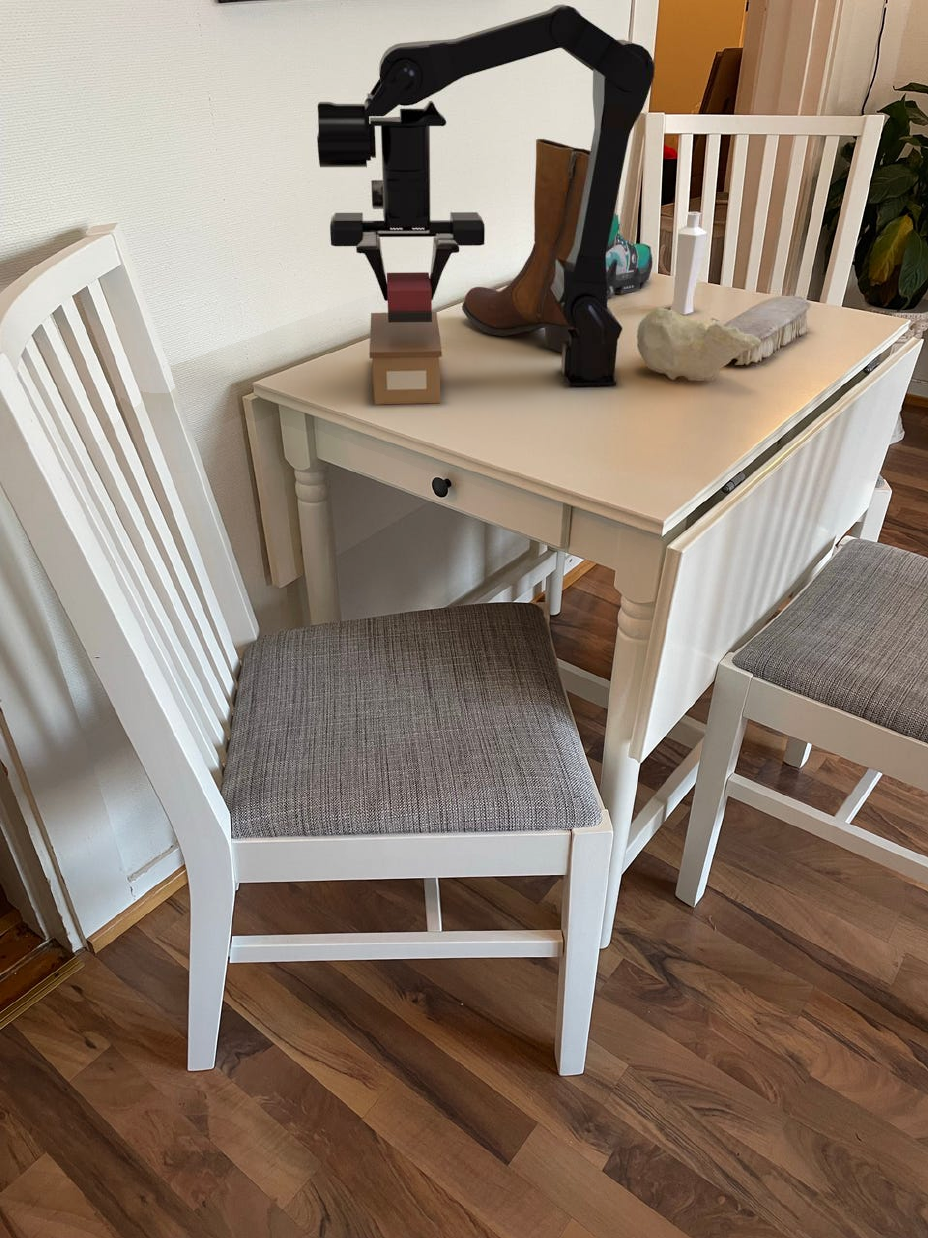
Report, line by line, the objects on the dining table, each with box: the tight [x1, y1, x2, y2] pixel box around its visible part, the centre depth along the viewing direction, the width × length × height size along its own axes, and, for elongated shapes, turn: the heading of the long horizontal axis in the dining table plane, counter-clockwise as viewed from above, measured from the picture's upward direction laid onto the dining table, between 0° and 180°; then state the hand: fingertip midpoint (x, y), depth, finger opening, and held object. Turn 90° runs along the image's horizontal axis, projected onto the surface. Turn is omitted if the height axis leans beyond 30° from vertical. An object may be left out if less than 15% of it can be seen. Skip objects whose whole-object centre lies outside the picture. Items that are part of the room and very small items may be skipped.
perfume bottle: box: [669, 211, 708, 316], centre depth 152 cm, size 5×4×15 cm
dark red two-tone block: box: [386, 271, 433, 322], centre depth 123 cm, size 5×12×4 cm, turn 4°
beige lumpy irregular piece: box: [636, 307, 761, 383], centre depth 130 cm, size 15×7×15 cm
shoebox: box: [369, 311, 443, 405], centre depth 128 cm, size 9×16×7 cm, turn 4°
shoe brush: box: [723, 295, 812, 366], centre depth 141 cm, size 24×8×5 cm, turn 143°
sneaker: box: [606, 213, 653, 299], centre depth 162 cm, size 9×24×15 cm, turn 134°
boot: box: [461, 138, 591, 354], centre depth 138 cm, size 25×9×27 cm, turn 39°
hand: (408, 299), depth 123 cm, fingers closed on dark red two-tone block, 5 cm apart
